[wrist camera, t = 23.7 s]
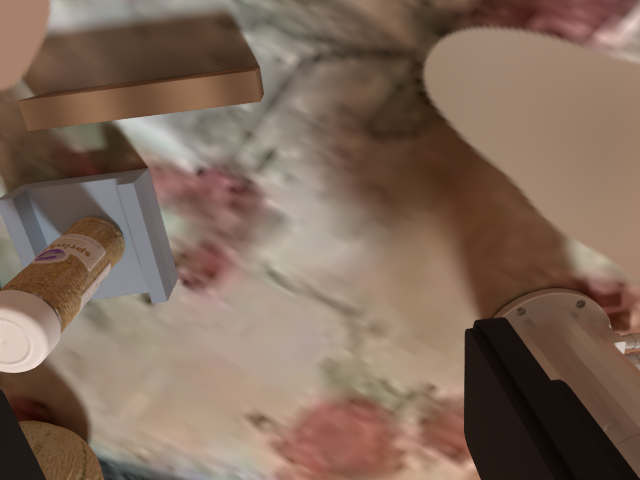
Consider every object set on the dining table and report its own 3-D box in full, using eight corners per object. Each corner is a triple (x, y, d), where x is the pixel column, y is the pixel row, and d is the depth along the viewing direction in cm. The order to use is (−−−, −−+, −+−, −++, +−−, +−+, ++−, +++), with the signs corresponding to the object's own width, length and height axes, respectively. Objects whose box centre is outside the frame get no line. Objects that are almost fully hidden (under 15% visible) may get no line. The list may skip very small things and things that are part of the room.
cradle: (148, 168, 38) (133, 183, 35) (178, 277, 42) (167, 301, 39) (24, 183, 38) (-5, 200, 35) (65, 291, 42) (44, 317, 39)
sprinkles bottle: (109, 207, 37) (16, 296, 25) (136, 257, 39) (62, 363, 27) (56, 225, 38) (-61, 321, 26) (86, 273, 40) (-11, 385, 27)
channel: (237, -77, 32) (229, -91, 28) (264, 93, 36) (260, 101, 33) (-2, -47, 32) (-41, -56, 28) (54, 120, 36) (27, 131, 33)
